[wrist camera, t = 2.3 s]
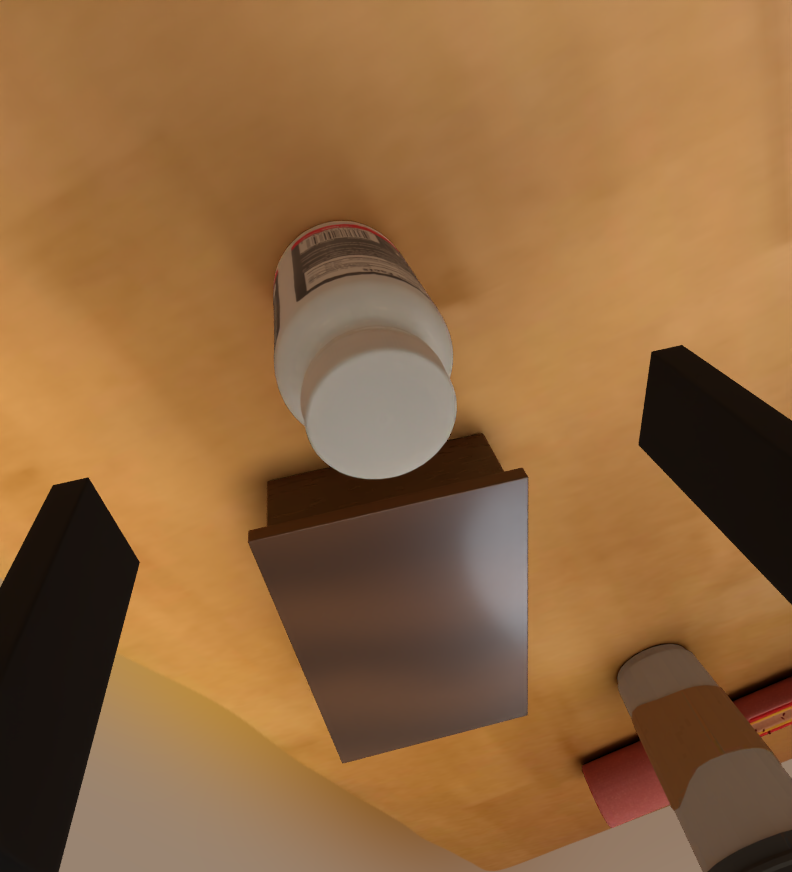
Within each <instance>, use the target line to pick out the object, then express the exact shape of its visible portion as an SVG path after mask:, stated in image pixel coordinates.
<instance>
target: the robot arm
mask: <svg viewBox="0 0 792 872" xmlns="http://www.w3.org/2000/svg"><path fill="white" fill-rule="evenodd" d="M639 446H640V447H641V448H642V449H643V450H644V451H645V452H646V453H647V454H648V455H649V456H650V457H651V458H652V459H653V461H654V462H655V463H656V464H657V465H658V466H659V467H660V468H661V469H662V470H663V471H664V472H665V473H666V474H667V475H668V476H669V477H670V478H671V479H672V480H673V481H674V482H675V483H676V485H677V486H678V487H679V488H680V489H681V490H682V491H683V492H684V493H685V494H686V495H687V496H688V497H689V498H690V499H691V500H692V501H693V502H694V503H695V504H696V505H697V506H698V507H699V508H700V510H701V511H702V512H703V513H704V514H705V515H706V516H707V517H708V518H709V519H710V520H711V521H712V522H713V523H714V524H715V525H716V526H717V527H718V528H719V529H720V530H721V531H722V532H723V533H724V535H725V536H726V537H727V538H728V539H729V540H730V541H731V542H732V543H733V544H734V545H735V546H736V547H737V548H738V549H739V550H740V551H741V552H742V553H743V554H744V555H745V556H746V557H747V559H748V560H749V561H750V562H751V563H752V564H753V565H754V566H755V567H756V568H757V569H758V570H759V571H760V572H761V573H762V574H763V575H764V576H765V577H766V578H767V579H768V580H769V581H770V582H771V584H772V585H773V586H774V587H775V588H776V589H777V590H778V591H779V592H780V593H781V594H782V595H783V596H784V597H785V598H786V599H787V600H788V601H789V602H790V603H791V604H792V421H791V420H790V419H789V418H787V417H786V416H784V415H783V414H781V413H780V412H778V411H777V410H775V409H774V408H773V407H771V406H770V405H768V404H767V403H765V402H764V401H762V400H761V399H759V398H758V397H757V396H755V395H754V394H752V393H751V392H749V391H748V390H746V389H745V388H744V387H742V386H741V385H739V384H738V383H736V382H735V381H733V380H732V379H730V378H729V377H728V376H726V375H725V374H723V373H722V372H720V371H719V370H717V369H716V368H715V367H713V366H712V365H710V364H709V363H707V362H706V361H704V360H703V359H701V358H700V357H699V356H697V355H696V354H694V353H693V352H691V351H690V350H688V349H687V348H686V347H684V346H683V345H680V346H676V347H671V348H667V349H662V350H658V351H653V352H651V359H650V367H649V374H648V381H647V388H646V395H645V402H644V409H643V416H642V423H641V430H640V437H639ZM139 563H140V562H139V560H138V559H137V557H136V555H135V554H134V552H133V550H132V549H131V547H130V545H129V544H128V542H127V540H126V539H125V537H124V535H123V534H122V532H121V531H120V529H119V527H118V526H117V524H116V522H115V521H114V519H113V517H112V516H111V514H110V512H109V511H108V509H107V507H106V506H105V504H104V502H103V501H102V499H101V497H100V496H99V494H98V493H97V491H96V489H95V488H94V486H93V484H92V483H91V481H90V479H89V478H84V479H79V480H75V481H70V482H66V483H61V484H57V485H53V486H52V488H51V490H50V492H49V494H48V496H47V498H46V500H45V502H44V504H43V506H42V507H41V509H40V511H39V513H38V515H37V517H36V519H35V521H34V523H33V525H32V527H31V529H30V531H29V533H28V535H27V537H26V539H25V540H24V542H23V544H22V546H21V548H20V550H19V552H18V554H17V556H16V558H15V560H14V562H13V564H12V566H11V568H10V570H9V572H8V573H7V575H6V577H5V579H4V581H3V583H2V585H1V587H0V872H59V868H60V864H61V860H62V856H63V852H64V849H65V845H66V841H67V837H68V833H69V829H70V825H71V822H72V818H73V814H74V811H75V807H76V803H77V799H78V795H79V791H80V788H81V784H82V780H83V776H84V773H85V769H86V765H87V761H88V757H89V754H90V749H91V746H92V742H93V738H94V734H95V730H96V727H97V723H98V719H99V715H100V712H101V707H102V704H103V700H104V696H105V693H106V688H107V685H108V681H109V677H110V673H111V670H112V666H113V662H114V658H115V654H116V651H117V647H118V643H119V639H120V635H121V632H122V628H123V624H124V620H125V616H126V612H127V609H128V605H129V601H130V597H131V593H132V590H133V586H134V582H135V578H136V574H137V571H138V567H139Z"/></svg>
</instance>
